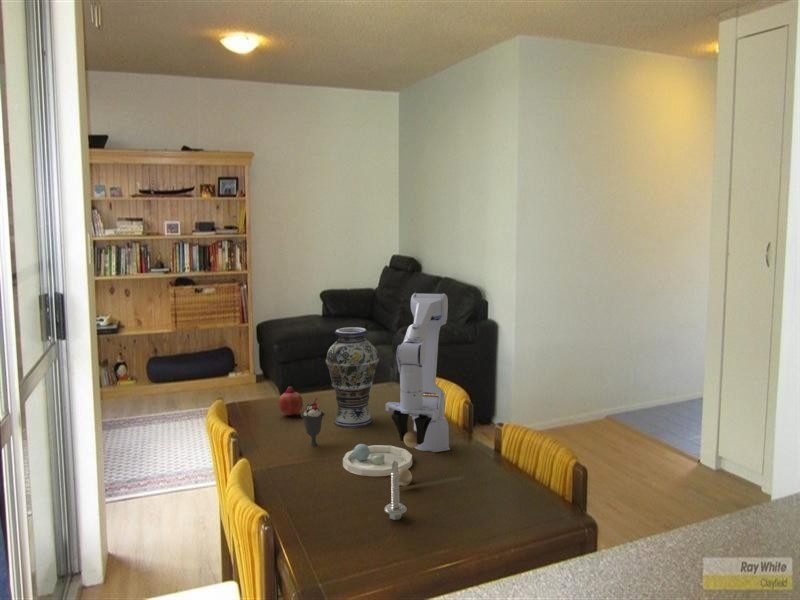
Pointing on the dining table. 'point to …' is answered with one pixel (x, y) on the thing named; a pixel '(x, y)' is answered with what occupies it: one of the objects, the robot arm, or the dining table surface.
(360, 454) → the bead blue
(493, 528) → the dining table surface
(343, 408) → the vase
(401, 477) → the bead birch
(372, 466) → the tray
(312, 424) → the sundae
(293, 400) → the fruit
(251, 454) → the dining table surface
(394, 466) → the screw
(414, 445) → the bead oak
